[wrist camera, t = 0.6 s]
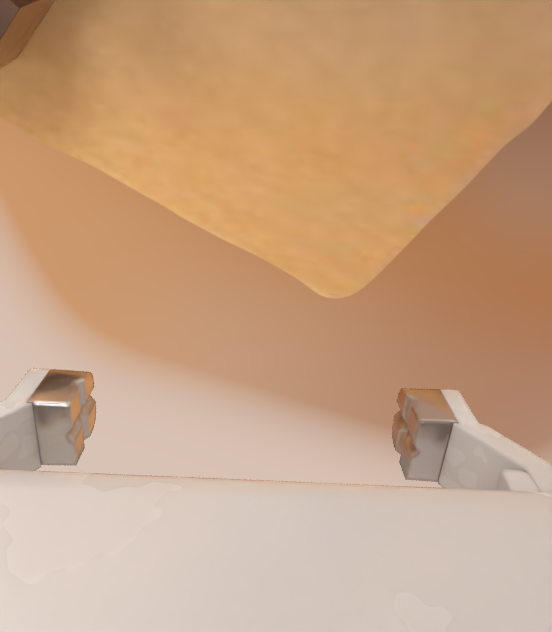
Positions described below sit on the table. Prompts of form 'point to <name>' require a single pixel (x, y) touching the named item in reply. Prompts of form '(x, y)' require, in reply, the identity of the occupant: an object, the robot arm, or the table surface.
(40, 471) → the robot arm
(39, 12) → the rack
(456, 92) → the table surface
